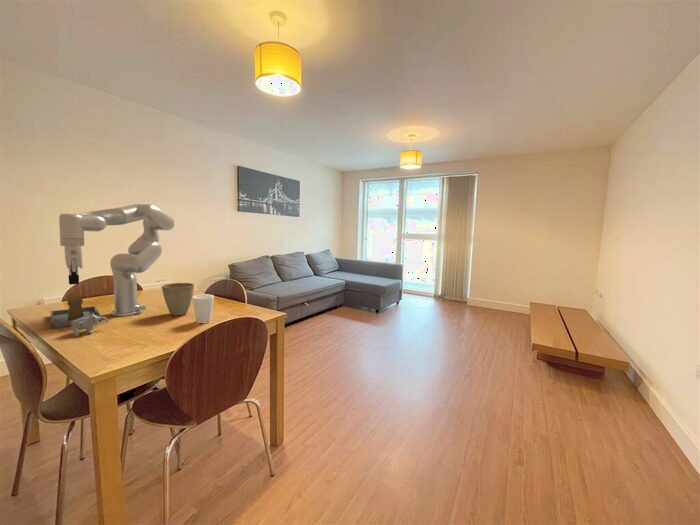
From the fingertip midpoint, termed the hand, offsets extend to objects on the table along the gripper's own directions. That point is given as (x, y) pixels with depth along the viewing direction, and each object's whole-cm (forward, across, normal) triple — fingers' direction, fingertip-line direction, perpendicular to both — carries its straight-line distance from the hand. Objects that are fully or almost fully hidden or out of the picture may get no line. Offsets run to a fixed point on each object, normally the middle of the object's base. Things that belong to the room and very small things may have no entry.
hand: (74, 283), depth 127 cm
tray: (+20, +16, -1) cm, 25 cm away
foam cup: (+20, -24, -46) cm, 55 cm away
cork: (+20, +10, -1) cm, 22 cm away
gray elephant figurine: (+20, -10, -4) cm, 23 cm away
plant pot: (+20, -4, -40) cm, 45 cm away
